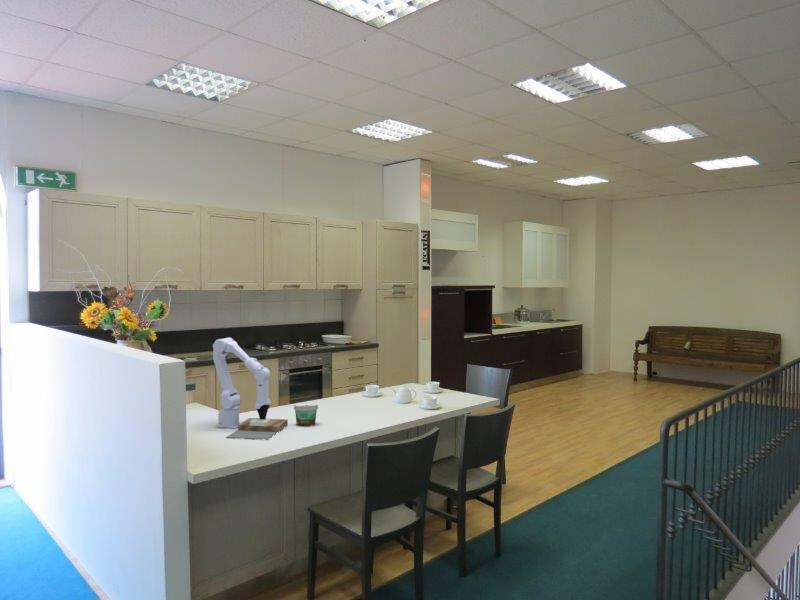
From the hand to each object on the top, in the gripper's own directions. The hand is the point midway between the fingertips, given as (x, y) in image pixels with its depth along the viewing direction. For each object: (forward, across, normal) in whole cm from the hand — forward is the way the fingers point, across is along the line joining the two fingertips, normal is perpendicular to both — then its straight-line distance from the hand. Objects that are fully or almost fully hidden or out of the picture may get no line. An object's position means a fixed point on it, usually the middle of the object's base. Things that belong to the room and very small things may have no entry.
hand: (262, 420), depth 274 cm
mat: (+4, -13, 0) cm, 13 cm away
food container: (+4, +10, -19) cm, 22 cm away
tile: (+1, -4, 0) cm, 4 cm away
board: (+4, +1, 0) cm, 4 cm away
